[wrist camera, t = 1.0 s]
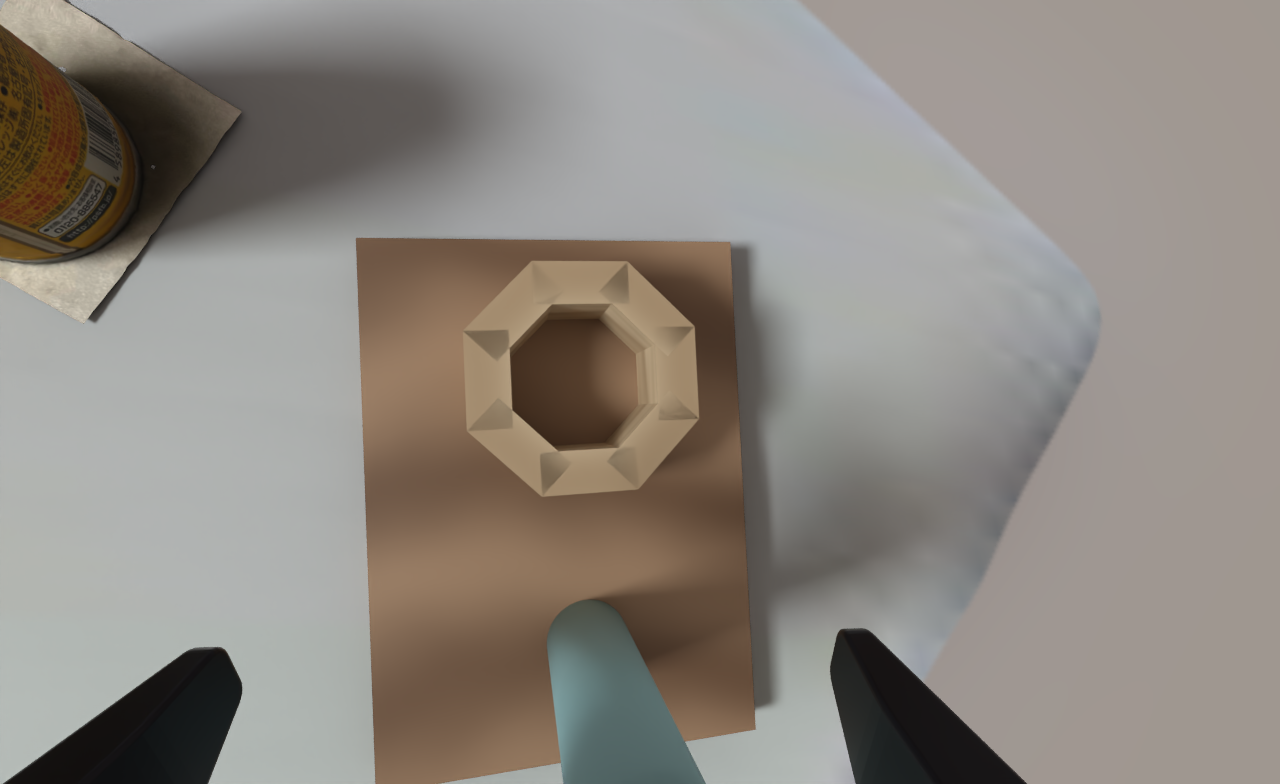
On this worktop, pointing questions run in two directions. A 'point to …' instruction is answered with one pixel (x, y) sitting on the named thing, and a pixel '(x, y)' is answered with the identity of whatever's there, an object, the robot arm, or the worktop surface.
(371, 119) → the worktop surface
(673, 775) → the dowel
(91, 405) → the worktop surface
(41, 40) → the condiment
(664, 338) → the bead
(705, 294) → the board
